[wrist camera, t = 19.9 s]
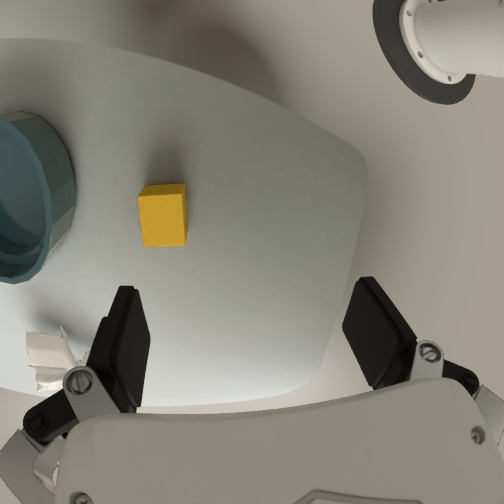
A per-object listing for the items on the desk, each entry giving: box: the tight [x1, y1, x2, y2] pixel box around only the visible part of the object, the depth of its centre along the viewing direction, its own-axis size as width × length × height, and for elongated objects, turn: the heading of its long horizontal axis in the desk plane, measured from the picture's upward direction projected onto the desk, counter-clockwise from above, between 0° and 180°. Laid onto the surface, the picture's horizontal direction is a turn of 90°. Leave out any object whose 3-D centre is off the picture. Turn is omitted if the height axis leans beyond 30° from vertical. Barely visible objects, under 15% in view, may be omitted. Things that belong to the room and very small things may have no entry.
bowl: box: [0, 111, 75, 284], centre depth 20 cm, size 18×18×6 cm
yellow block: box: [138, 183, 188, 247], centre depth 25 cm, size 4×5×4 cm
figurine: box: [26, 326, 90, 392], centre depth 32 cm, size 15×12×14 cm
